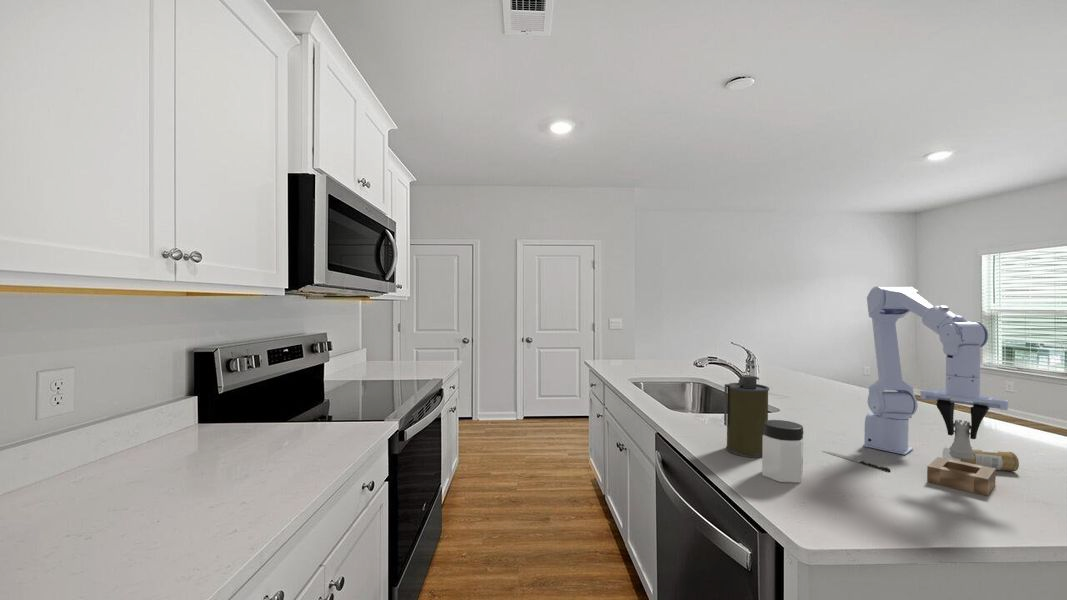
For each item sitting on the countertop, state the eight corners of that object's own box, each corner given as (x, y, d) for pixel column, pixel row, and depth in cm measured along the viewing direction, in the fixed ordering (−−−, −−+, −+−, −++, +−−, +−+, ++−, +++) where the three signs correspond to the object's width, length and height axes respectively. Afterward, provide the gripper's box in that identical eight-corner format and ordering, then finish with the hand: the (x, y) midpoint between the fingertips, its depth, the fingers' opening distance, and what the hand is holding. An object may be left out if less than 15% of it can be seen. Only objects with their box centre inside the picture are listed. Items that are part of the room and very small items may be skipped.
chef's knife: (820, 449, 133) (813, 450, 132) (820, 445, 133) (813, 446, 132) (896, 472, 116) (889, 473, 114) (897, 467, 116) (889, 469, 114)
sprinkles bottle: (1010, 447, 117) (944, 442, 120) (1022, 461, 113) (953, 455, 116) (1005, 462, 118) (939, 456, 122) (1016, 476, 114) (948, 470, 118)
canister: (760, 446, 134) (760, 373, 134) (775, 458, 123) (776, 380, 123) (719, 444, 135) (720, 372, 135) (731, 456, 125) (731, 379, 124)
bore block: (927, 481, 109) (927, 466, 109) (937, 471, 115) (937, 456, 115) (987, 496, 101) (988, 479, 101) (995, 484, 107) (995, 468, 107)
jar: (812, 480, 109) (813, 427, 109) (788, 486, 106) (788, 431, 105) (777, 467, 117) (777, 417, 117) (753, 472, 114) (754, 421, 114)
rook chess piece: (943, 453, 111) (943, 419, 110) (960, 452, 111) (961, 418, 111) (962, 461, 106) (963, 425, 106) (980, 459, 107) (981, 423, 106)
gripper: (917, 373, 111) (916, 432, 111) (1005, 382, 100) (1004, 447, 100) (924, 370, 116) (924, 427, 116) (1009, 378, 105) (1008, 441, 105)
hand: (961, 436), depth 108 cm, fingers closed on rook chess piece, 3 cm apart
